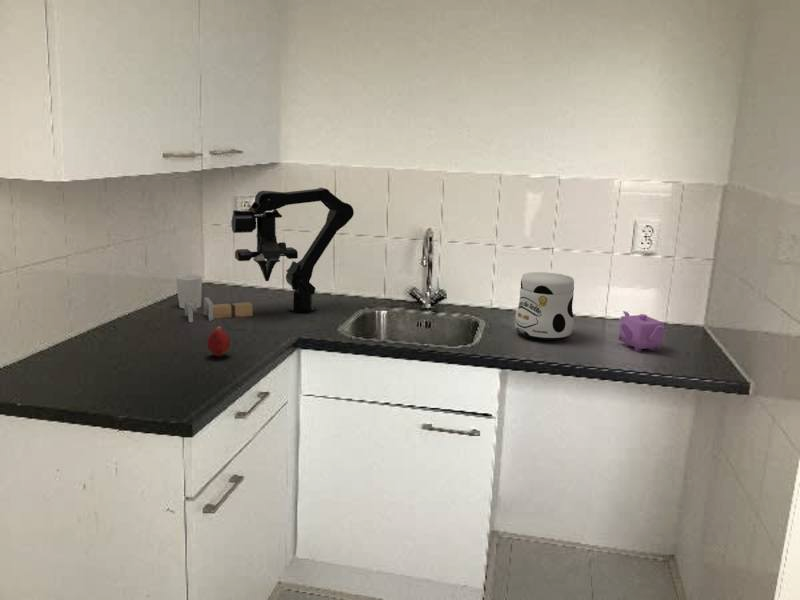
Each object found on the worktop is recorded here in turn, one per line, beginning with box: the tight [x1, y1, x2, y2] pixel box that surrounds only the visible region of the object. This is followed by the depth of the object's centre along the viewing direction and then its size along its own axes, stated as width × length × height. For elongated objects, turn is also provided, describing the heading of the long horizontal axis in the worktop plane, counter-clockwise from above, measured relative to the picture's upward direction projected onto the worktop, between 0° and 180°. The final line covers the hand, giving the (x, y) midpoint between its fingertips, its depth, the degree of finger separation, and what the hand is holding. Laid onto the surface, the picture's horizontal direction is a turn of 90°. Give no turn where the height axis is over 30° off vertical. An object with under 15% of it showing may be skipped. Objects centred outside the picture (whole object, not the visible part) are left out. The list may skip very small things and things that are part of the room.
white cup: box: [175, 273, 203, 310], centre depth 232 cm, size 8×8×10 cm
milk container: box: [514, 271, 575, 341], centre depth 214 cm, size 17×17×18 cm
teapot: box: [618, 310, 665, 353], centre depth 206 cm, size 18×13×10 cm
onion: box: [206, 326, 231, 358], centre depth 184 cm, size 6×6×8 cm
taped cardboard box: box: [213, 301, 254, 320], centre depth 224 cm, size 12×4×4 cm, turn 115°
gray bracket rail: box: [184, 296, 214, 323], centre depth 221 cm, size 7×11×5 cm, turn 25°
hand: (266, 281), depth 227 cm, fingers closed
